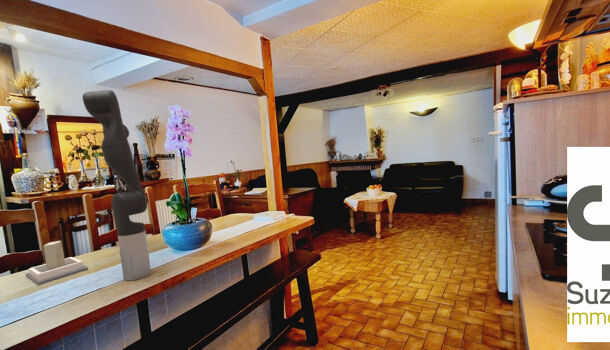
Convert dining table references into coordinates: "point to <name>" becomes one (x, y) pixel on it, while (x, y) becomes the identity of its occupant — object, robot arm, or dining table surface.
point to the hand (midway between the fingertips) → (124, 197)
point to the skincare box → (54, 255)
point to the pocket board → (55, 271)
